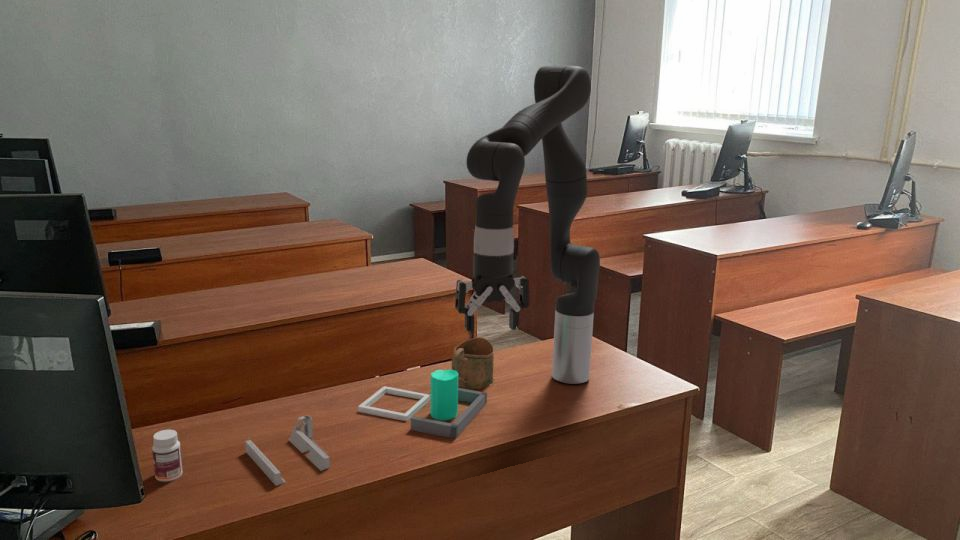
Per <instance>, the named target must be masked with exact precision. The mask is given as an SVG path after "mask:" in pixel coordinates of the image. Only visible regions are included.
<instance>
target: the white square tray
mask: <svg viewBox="0 0 960 540" xmlns="http://www.w3.org/2000/svg"><path fill="white" fill-rule="evenodd" d="M385 394H389V395H394V396H400V397H406V398H411V399H416V400H418V401H417V402H416V403H415V404H414V405H413V406H411V408H409V409H408V410H407V411H406V412H405V413H404V412H399V411H394V410H388V409H385V408H379V407H374V406H372V405H374V403H376V402H377V401H378V400H380V399H381V398H382V397H383V396H384V395H385ZM429 401H431V394H427V393H421V392H416V391H412V390H407V389H400V388H396V387H391V386H385V385H384V386H382V387H381V388H379V390H377V391H376V392H375V393H373V394H372V395H371V396H369V397H368V398H367V399H366V400H365V401H363V402H362V403H361V404H359V405H358V406H357V412H358V413H361V414H367V415H372V416H378V417H383V418H388V419H394V420H398V421H399V420H400V421H404V422H408V421H409V420H411V418H412V417H413V416H415V414H417V413H418V412H419V411H420V409H422V407H423V406H425V405H426V404H427V403H428V402H429Z"/></svg>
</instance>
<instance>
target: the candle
mask: <svg viewBox="0 0 960 540" xmlns="http://www.w3.org/2000/svg"><path fill="white" fill-rule="evenodd" d="M458 388H459V386H458V373H457V371H454V370H452V369H446V368H445V367H444V370H443V369H436V370H435V371H433V372H431V373H430V416H431V418H432V419H434V420H436V421H448V420H453V419H455V418H457V416H458V413H459V412H458V411H459V400H458Z"/></svg>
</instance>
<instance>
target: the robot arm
mask: <svg viewBox="0 0 960 540" xmlns="http://www.w3.org/2000/svg"><path fill="white" fill-rule="evenodd" d="M533 80H534V81H533V93H534V94H533V95H534V103H533V104H531V105H528V106H526V107H524V108H523V109H521V110H518V112H516V113H515V114H514V115H512V117H511V118H510V119H509V120H508V121H507V122H506V123H505V124H504V125H503V126H502V127H500V128H499V129H495V130H494V131H492V132H490V133H488V134H486V135H484V136H483V137H481V138H479V139H478V140H477V141H475V142H474V143H473V144H472V145H471V147H470V149H469V150H468V152H467V154H466V168H467V171H468V173H469V174H470V175H471V177H474V179H477V180H482V181H490V182H498V184H497V188H496V190H495V191H493V192H485V193H482V194H481V193H480V194H479V195H478V197H476V200H475V225H474V227H475V228H474V233H473V234H474V235H473V267H472V268H473V270H472V271H473V275H472V279H471V280H462V279H457V281H456V285H455V286H456V287H455V299H454V300H455V301H454V309H455V310H456V311H457V312H458V314H463V315H464V329H465V330H466V331H467V332H468V334H470V335H474V334H475V315H474V313H475V312H476V311H477V309H478V308H480V307H481V306H482V305H483V303H484V302H485V303H487V304H488V303H493V302H498V303H499V302H503V301H504V300H505V302H506V303H507V304H508V305H509V306H510V308H509V311H508V313H509V314H508V317H509V318H508V326H509V329H510V330H511V331H515V330H517V327H519V325H520V311H521V310H522V309H527V308H529V307H530V283H529V282H530V281H529V279H528V278H527V277H525V276H524V275H523V274H522V275H519V276H518V277H514V276H513V273H514V249H515V234H514V205H515V200H516V198H517V193H518V190H519V186H520V183H521V180H522V176H523V173H524V170H525V165H526V163H525V162H526V158H525V157H526V156H528V155H529V154H530V152H532V150H533V149H534V148H535V147H536V146H537V145H538V144H539V142H540V141H541V142H542V143H541V144H542V151H543V161H544V179H545V189H546V195H547V196H546V197H547V204H548V205H547V206H548V215H549V261H550V262H549V263H550V270H551V271H550V272H551V273H552V274H551V275H552V276H553V278H554V279H555V280H557V281H560V282H563V283H570V284H574V285H576V291H575V292H572V293H567V294H563V295H560V296H558V297H557V298H556V300H555V311H554V313H555V314H554V327H553V328H554V329H553V334H554V335H553V350H552V363H551V364H552V367H551V368H552V369H551V370H552V371H551V376H552V378H553V379H554V380H556V381H558V382H561V383H565V384H571V385H574V384H575V385H577V384H583V383H585V382H588V381H589V380H590V374H591V373H590V372H591V359H592V346H593V344H592V343H593V332H594V329H593V328H594V317H595V316H594V312H595V304H596V299H597V293H598V286H599V285H598V283H599V278H600V277H599V275H600V268H601V256H600V253H599V251H598V250H597V249H596V248H595V247H591V246H587V245H586V246H585V245H579V244H573V243H571V226H572V224H573V221H574V220H575V219H576V216H577V215H578V213H579V212H580V211H581V208H582V207H583V205H584V203H585V201H586V199H587V196H588V178H587V177H588V176H587V167H586V163H585V161H584V159H583V157H582V156H581V154H580V152H579V151H578V149H577V148H576V147H575V145H574V144H573V142H572V141H571V140H570V138H569V136H568V135H567V134H566V131H565V129H564V127H563V124H562V123H564V121H566V120H568V119H569V118H570V117H571V116H573V115H574V114H576V113H578V112H579V111H580V110H582V109H583V108H584V107H585V106H586V104H587V103H588V100H589V98H590V95H591V87H592V85H591V84H592V83H591V78H590V74H589V72H588V71H587V70H586V69H585V68H584V67H583V66H578V65H546V66H545V65H544V66H541V67H539V68H538V69H537V71H536V72H535V76H534V79H533ZM514 286H516V288H518V300H517V301H516V300H515V298H514V297H513V296H512V294H511V293H510V292H511V291H512V289H513V287H514ZM470 288H472V290H473V291H474V292H473V294H472V295H471V296H470V298H469V301H468V302H467V304H466V296H467V295H466V294H467V293H469V290H470Z"/></svg>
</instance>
